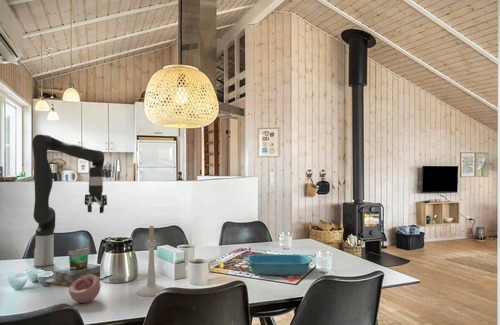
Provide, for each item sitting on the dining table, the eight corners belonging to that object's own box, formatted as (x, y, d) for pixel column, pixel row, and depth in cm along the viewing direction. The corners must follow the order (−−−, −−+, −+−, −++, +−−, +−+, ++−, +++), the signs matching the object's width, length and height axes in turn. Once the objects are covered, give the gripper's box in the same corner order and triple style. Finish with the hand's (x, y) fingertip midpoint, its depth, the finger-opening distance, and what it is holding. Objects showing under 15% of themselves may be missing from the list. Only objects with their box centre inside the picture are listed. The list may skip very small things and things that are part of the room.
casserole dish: (308, 265, 218) (308, 253, 219) (316, 276, 196) (316, 262, 196) (244, 266, 217) (244, 253, 217) (245, 277, 195) (245, 263, 195)
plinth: (44, 282, 185) (44, 271, 185) (79, 271, 206) (79, 261, 206) (79, 287, 177) (79, 276, 177) (111, 275, 198) (112, 264, 198)
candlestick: (138, 298, 163) (138, 228, 164) (134, 289, 175) (135, 224, 175) (168, 294, 168) (168, 226, 169) (162, 286, 180) (163, 222, 180)
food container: (78, 272, 184) (78, 251, 184) (67, 271, 186) (68, 250, 186) (95, 265, 196) (95, 246, 196) (84, 264, 198) (84, 245, 198)
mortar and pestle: (62, 305, 155) (62, 276, 155) (84, 295, 166) (84, 269, 166) (85, 308, 151) (85, 279, 151) (106, 299, 162) (106, 272, 162)
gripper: (81, 184, 219) (81, 212, 219) (100, 185, 214) (100, 213, 214) (90, 184, 226) (90, 211, 226) (110, 184, 221) (110, 212, 221)
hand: (95, 212), depth 220 cm, fingers open, 8 cm apart
